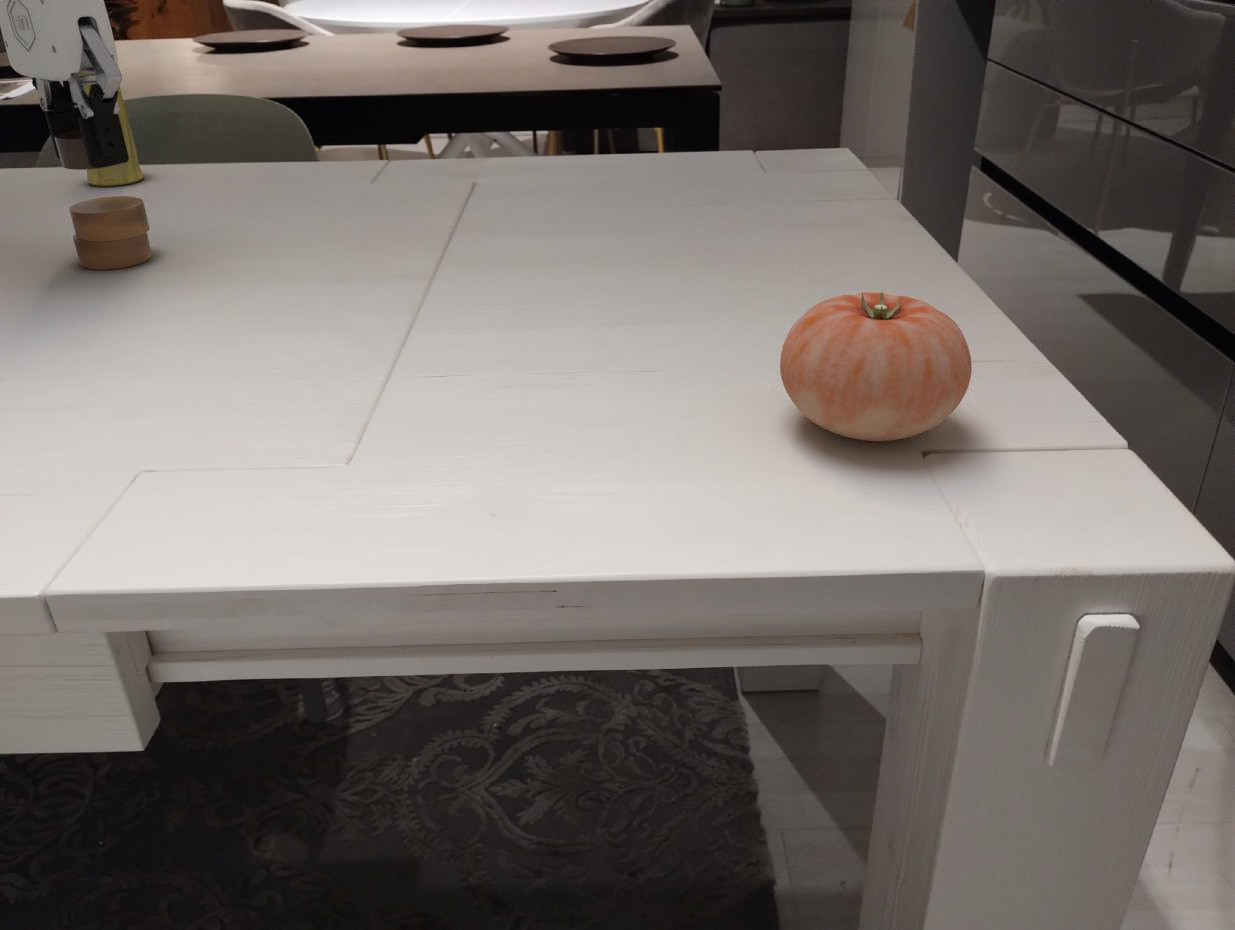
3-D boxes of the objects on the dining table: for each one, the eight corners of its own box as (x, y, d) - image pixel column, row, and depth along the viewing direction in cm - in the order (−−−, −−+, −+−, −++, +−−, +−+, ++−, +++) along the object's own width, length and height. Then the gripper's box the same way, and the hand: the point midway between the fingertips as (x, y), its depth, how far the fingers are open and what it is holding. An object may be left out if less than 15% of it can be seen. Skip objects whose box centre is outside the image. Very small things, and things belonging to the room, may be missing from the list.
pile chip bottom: (67, 261, 91) (60, 234, 90) (131, 246, 95) (124, 219, 94) (101, 274, 88) (93, 246, 87) (165, 257, 92) (158, 230, 91)
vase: (88, 189, 116) (53, 55, 109) (88, 178, 120) (55, 49, 114) (145, 183, 118) (114, 51, 111) (143, 172, 123) (114, 46, 116)
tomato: (749, 398, 64) (755, 276, 60) (904, 379, 66) (920, 261, 63) (821, 480, 55) (834, 342, 51) (998, 454, 57) (1024, 320, 53)
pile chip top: (64, 234, 90) (56, 206, 89) (128, 219, 94) (121, 192, 93) (97, 246, 87) (90, 217, 86) (162, 230, 91) (156, 202, 90)
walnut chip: (51, 165, 87) (43, 135, 86) (107, 154, 91) (100, 125, 89) (80, 172, 84) (71, 141, 83) (136, 161, 88) (129, 131, 87)
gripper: (-67, -76, 81) (4, 157, 90) (32, -79, 71) (100, 182, 80) (29, -78, 86) (87, 142, 95) (133, -81, 77) (187, 164, 85)
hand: (92, 158), depth 87 cm, fingers closed on walnut chip, 5 cm apart
